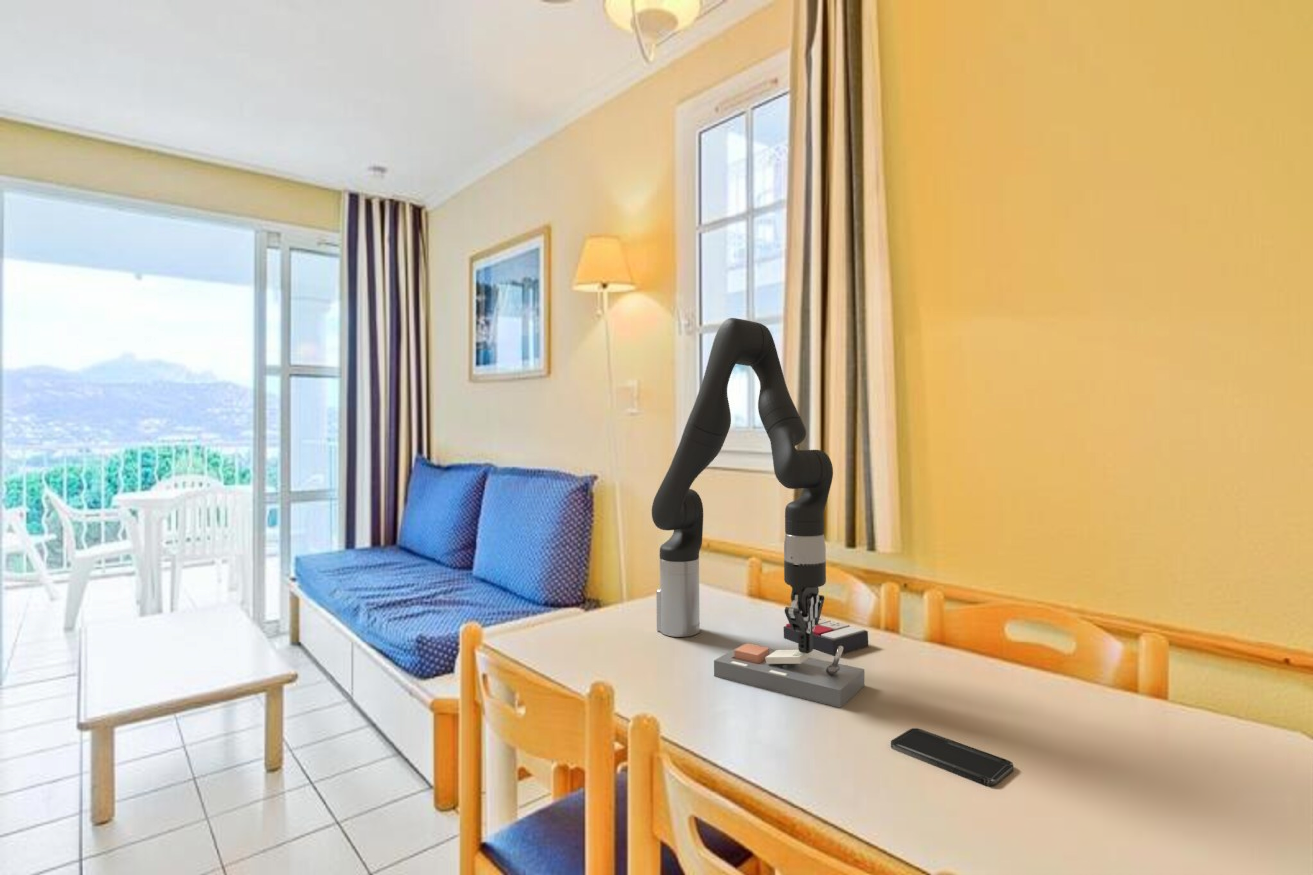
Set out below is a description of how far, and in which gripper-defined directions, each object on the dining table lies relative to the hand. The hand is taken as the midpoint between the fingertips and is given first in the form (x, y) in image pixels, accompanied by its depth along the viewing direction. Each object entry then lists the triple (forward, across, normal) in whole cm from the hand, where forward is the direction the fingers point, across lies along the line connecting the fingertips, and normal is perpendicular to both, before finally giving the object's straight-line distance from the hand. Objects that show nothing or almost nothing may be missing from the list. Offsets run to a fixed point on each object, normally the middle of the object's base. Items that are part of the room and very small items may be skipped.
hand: (805, 651), depth 122 cm
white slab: (+2, 0, -3) cm, 4 cm away
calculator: (+7, -25, -7) cm, 27 cm away
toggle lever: (+3, 0, +5) cm, 6 cm away
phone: (+7, +13, +28) cm, 31 cm away
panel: (+6, 0, -3) cm, 7 cm away
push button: (+4, 0, -11) cm, 12 cm away
